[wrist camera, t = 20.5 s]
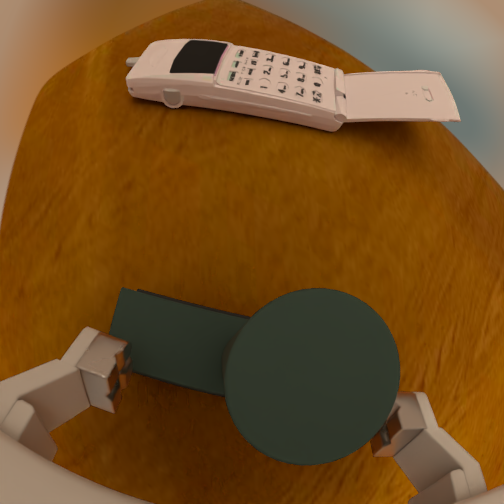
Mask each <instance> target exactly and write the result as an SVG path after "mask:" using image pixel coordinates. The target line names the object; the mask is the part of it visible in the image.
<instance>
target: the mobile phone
mask: <svg viewBox="0 0 504 504" xmlns="http://www.w3.org/2000/svg"><path fill="white" fill-rule="evenodd" d="M126 65H127V66H130V67H133V68H132V69H131V71H130V72H129V74H128V75H127V77H126V82H127V86H128V91H129V93H130V94H131V95H132V96H133V97H137V98H142V99H147V100H153V101H159V102H164V104H165V105H166V106H168V107H170V108H179V107H180V106H181V105H187V106H196V107H204V108H211V109H218V110H225V111H231V112H237V113H243V114H248V115H254V116H260V117H265V118H271V119H276V120H281V121H286V122H291V123H296V124H300V125H305V126H309V127H314V128H318V129H322V130H326V131H330V132H333V131H337V130H338V129H339V128H340V127H341V125H342V124H343V123H344V122H366V121H441V122H447V121H454V122H461V120H460V116H459V113H458V110H457V107H456V103H455V101H454V99H453V96H452V94H451V92H450V90H449V88H448V86H447V84H446V82H445V81H444V79H443V77H442V75H441V74H440V72H431V71H429V70H415V71H385V72H366V73H352V74H343V71H342V70H340V69H338V68H337V69H334V68H331V67H328V66H324V65H321V64H317V63H314V62H310V61H307V60H303V59H299V58H295V57H291V56H287V55H283V54H278V53H274V52H269V51H264V50H259V49H253V48H248V47H242V46H235V45H233V44H232V43H229V42H222V41H213V40H203V39H172V40H161V41H155V42H153V43H151V44H150V45H149V46H148V47H147V49H146V50H145V51H144V53H143V54H142V55H141V57H136V58H128V59H127V61H126Z"/></svg>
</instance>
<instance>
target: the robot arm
mask: <svg viewBox="0 0 504 504" xmlns="http://www.w3.org/2000/svg"><path fill="white" fill-rule="evenodd" d="M131 352H132V345H131V343H130V342H128V341H125V340H123V339H120V338H117V337H114V336H112V335H109V334H106V333H104V332H101V331H98V330H95V329H93V328H90V327H88V326H87V327H86V328H84V329H83V330H82V331H81V333H80V334H79V335H78V337H77V338H76V339H75V341H74V342H73V343H72V345H71V346H70V347H69V349H68V350H67V352H66V353H65V354H64V356H63V357H62V359H61V360H58V359H55V360H52V361H50V362H47V363H45V364H42V365H40V366H38V367H35V368H33V369H30V370H28V371H25V372H23V373H20V374H18V375H16V376H13V377H11V378H8V379H6V380H3V381H1V382H0V504H154V503H151V502H148V501H144V500H141V499H138V498H135V497H132V496H129V495H126V494H123V493H121V492H118V491H115V490H113V489H110V488H107V487H105V486H102V485H100V484H98V483H95V482H93V481H91V480H88V479H86V478H84V477H82V476H79V475H77V474H75V473H73V472H71V471H69V470H67V469H65V468H63V467H61V466H59V465H57V464H55V463H53V462H52V460H53V458H54V456H55V454H56V452H57V450H58V448H57V445H56V443H55V442H54V440H53V439H52V437H51V436H50V434H49V432H51V431H52V430H54V429H55V428H57V427H59V426H60V425H62V424H63V423H65V422H67V421H68V420H70V419H71V418H73V417H74V416H76V415H78V414H79V413H81V412H82V411H84V410H85V409H87V408H88V407H90V405H92V406H94V407H97V408H100V409H102V410H105V411H108V412H111V413H114V414H115V412H116V410H117V408H118V405H119V403H120V401H121V399H122V395H121V390H123V389H125V388H127V386H128V384H129V382H130V379H131V375H132V370H133V360H132V359H131V358H130V354H131ZM370 443H371V448H372V453H373V457H390V456H394V457H393V458H394V459H395V461H396V462H397V464H398V465H399V466H400V468H401V469H402V470H403V472H404V473H405V474H406V476H407V477H408V479H409V480H410V481H411V483H412V484H413V485H414V487H415V488H416V489H417V491H418V492H419V494H417V495H416V496H414V497H412V498H411V499H410V500H409V501H408V504H504V484H503V485H501V486H498V487H496V488H494V489H491V490H489V491H487V488H486V484H485V481H484V478H483V474H482V471H481V468H480V465H479V463H478V462H477V461H476V460H475V459H474V458H473V457H472V456H471V455H470V454H469V453H468V452H467V451H466V450H464V449H463V448H462V447H461V446H460V445H459V444H458V443H457V442H456V441H455V440H454V439H453V438H452V437H451V436H450V435H449V434H448V433H447V432H446V431H445V430H443V429H442V428H438V425H437V422H436V419H435V417H434V414H433V411H432V408H431V406H430V403H429V400H428V398H427V395H426V394H425V393H424V392H404V391H398V393H397V397H396V400H395V403H394V405H393V408H392V410H391V412H390V414H389V416H388V418H387V419H386V421H385V422H384V424H383V425H382V427H381V428H380V429H379V431H378V432H377V433H376V434H375V435H374V436H373V437H372V439H371V441H370Z"/></svg>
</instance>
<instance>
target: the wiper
mask: <svg viewBox="0 0 504 504" xmlns="http://www.w3.org/2000/svg"><path fill="white" fill-rule="evenodd" d="M109 335H112V336H114V337H117V338H120V339H123V340H125V341H128V342H130V343H131V345H132V352H131V354H130V358H131V359H132V360H133V370H132V372H133V373H136V374H139V375H143V376H146V377H149V378H152V379H156V380H159V381H162V382H166V383H169V384H173V385H177V386H180V387H184V388H188V389H192V390H196V391H200V392H204V393H208V394H213V395H217V396H222V397H225V400H226V404H227V407H228V411H229V414H230V416H231V418H232V420H233V422H234V424H235V426H236V427H237V429H238V431H239V432H240V433H241V435H242V436H243V437H244V438H245V439H246V440H247V442H248V443H250V444H251V445H252V446H253V447H254V448H256V449H257V450H258V451H260V452H261V453H263V454H265V455H266V456H268V457H271V458H273V459H275V460H277V461H281V462H284V463H288V464H295V465H318V464H324V463H328V462H332V461H336V460H338V459H341V458H343V457H346V456H347V455H349V454H351V453H353V452H355V451H356V450H358V449H359V448H361V447H362V446H363V445H365V444H366V443H367V442H368V441H369V440H370V439H371V438H372V437H373V436H374V435H375V434H376V433H377V432H378V431H379V429H380V428H381V427H382V425H383V424H384V422H385V421H386V419H387V418H388V416H389V414H390V412H391V410H392V408H393V405H394V403H395V400H396V397H397V393H398V388H399V381H400V362H399V355H398V351H397V347H396V344H395V341H394V338H393V336H392V334H391V332H390V330H389V328H388V326H387V325H386V324H385V322H384V321H383V319H382V318H381V317H380V316H379V315H378V314H377V313H376V312H375V311H374V310H373V309H372V308H371V307H370V306H368V305H367V304H366V303H364V302H363V301H361V300H360V299H358V298H356V297H354V296H352V295H350V294H347V293H344V292H341V291H337V290H332V289H326V288H311V289H302V290H298V291H294V292H290V293H288V294H285V295H283V296H280V297H278V298H276V299H275V300H273V301H271V302H269V303H268V304H266V305H265V306H264V307H262V308H261V309H259V310H258V311H257V312H256V313H255V314H254V315H253V316H252V317H248V316H243V315H239V314H235V313H230V312H226V311H222V310H218V309H213V308H209V307H205V306H201V305H197V304H193V303H189V302H185V301H181V300H178V299H174V298H170V297H166V296H162V295H159V294H155V293H151V292H148V291H144V290H141V289H137V291H134V290H131V289H127V288H124V287H122V288H121V291H120V294H119V298H118V301H117V305H116V309H115V312H114V316H113V320H112V324H111V328H110V332H109Z"/></svg>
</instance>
